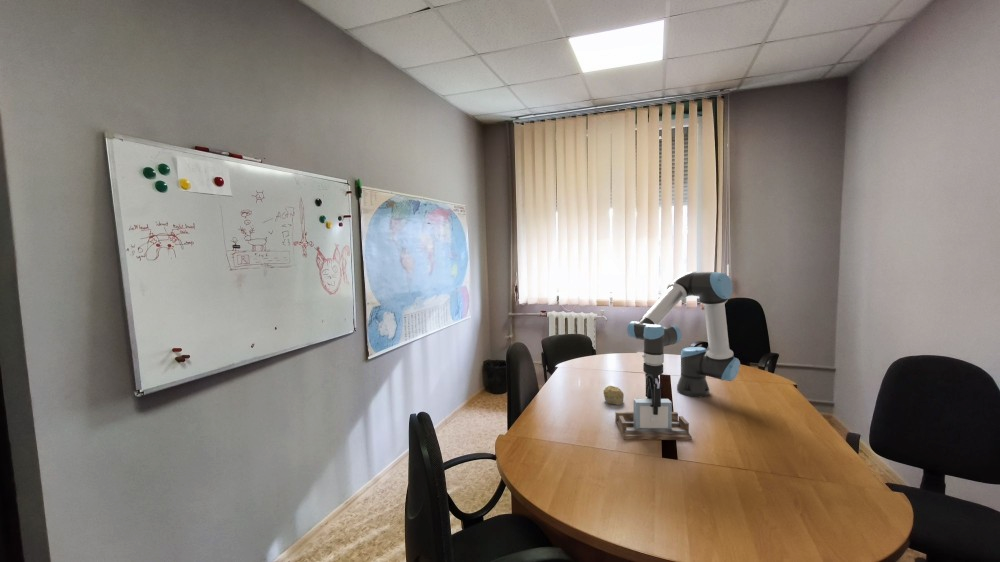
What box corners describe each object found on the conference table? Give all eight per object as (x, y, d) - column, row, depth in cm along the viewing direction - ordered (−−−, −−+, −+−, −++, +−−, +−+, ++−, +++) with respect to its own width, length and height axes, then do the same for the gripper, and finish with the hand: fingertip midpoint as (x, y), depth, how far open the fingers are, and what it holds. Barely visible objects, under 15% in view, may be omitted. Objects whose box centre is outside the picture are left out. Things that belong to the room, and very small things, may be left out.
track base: (676, 421, 168) (676, 409, 168) (691, 440, 152) (691, 426, 152) (615, 421, 170) (615, 409, 170) (624, 439, 155) (624, 426, 154)
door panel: (668, 426, 161) (668, 398, 160) (671, 431, 157) (672, 402, 156) (633, 426, 162) (633, 398, 161) (636, 431, 158) (636, 402, 157)
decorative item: (623, 408, 193) (620, 388, 198) (626, 403, 184) (623, 382, 190) (603, 408, 193) (601, 388, 199) (606, 403, 185) (603, 382, 190)
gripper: (637, 357, 166) (637, 409, 168) (650, 369, 149) (649, 428, 151) (655, 357, 165) (655, 410, 167) (670, 369, 148) (669, 428, 150)
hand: (652, 418), depth 159 cm, fingers closed on door panel, 4 cm apart
